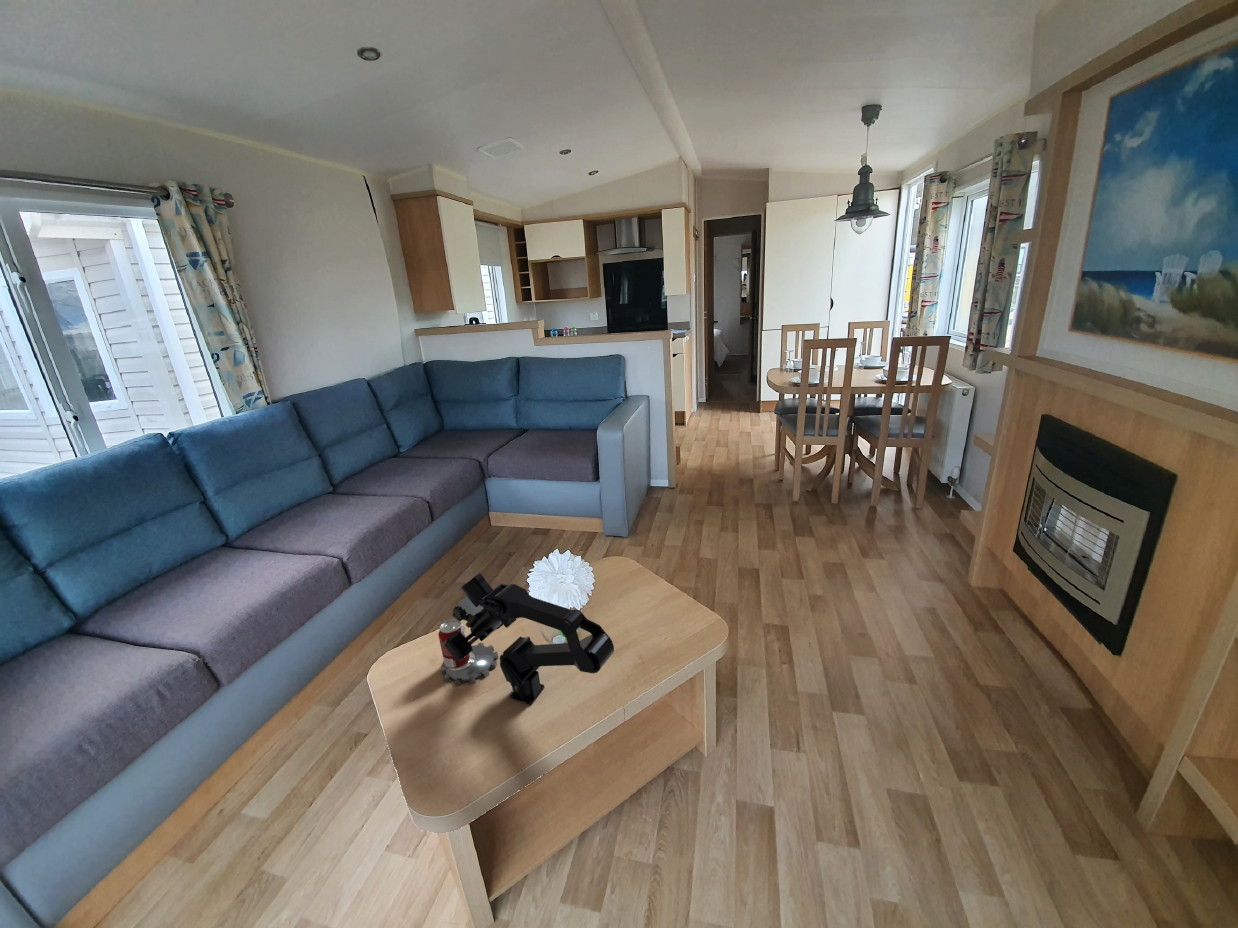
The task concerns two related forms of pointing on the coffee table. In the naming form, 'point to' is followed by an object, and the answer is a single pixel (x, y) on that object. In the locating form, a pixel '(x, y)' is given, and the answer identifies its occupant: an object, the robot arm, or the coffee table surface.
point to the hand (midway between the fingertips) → (466, 641)
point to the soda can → (444, 633)
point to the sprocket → (473, 665)
